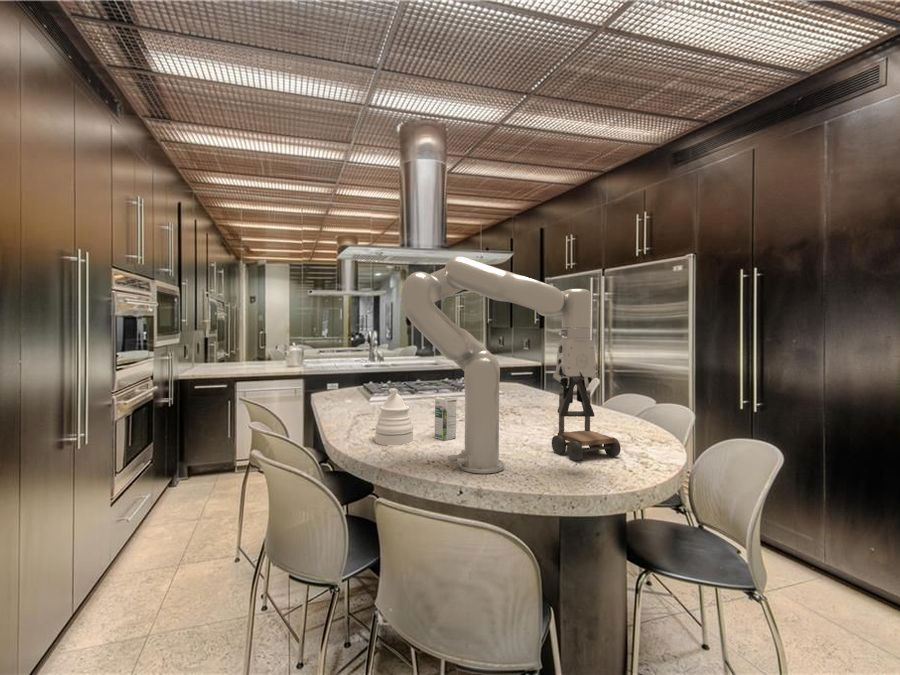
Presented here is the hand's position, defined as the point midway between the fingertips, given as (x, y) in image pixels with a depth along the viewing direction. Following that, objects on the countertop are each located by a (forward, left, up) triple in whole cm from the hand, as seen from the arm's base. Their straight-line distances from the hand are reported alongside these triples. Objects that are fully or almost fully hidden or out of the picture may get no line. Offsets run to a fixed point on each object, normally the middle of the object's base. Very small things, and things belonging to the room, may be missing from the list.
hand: (574, 401), depth 125 cm
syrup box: (-19, +48, -19) cm, 55 cm away
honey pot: (-37, +50, -19) cm, 65 cm away
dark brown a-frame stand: (0, 0, -4) cm, 4 cm away
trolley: (+14, +13, -19) cm, 27 cm away
